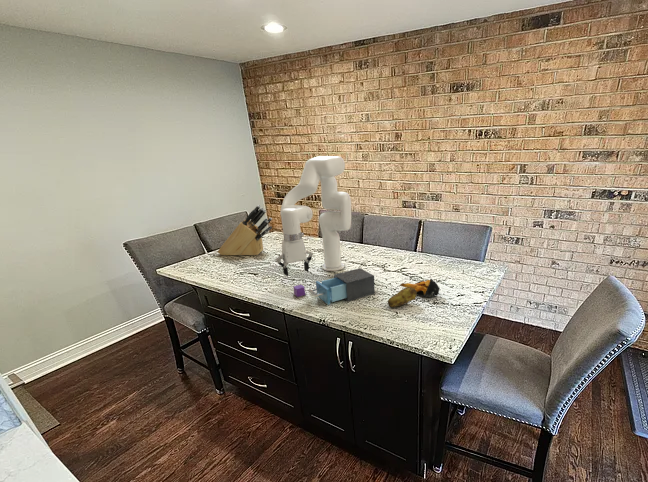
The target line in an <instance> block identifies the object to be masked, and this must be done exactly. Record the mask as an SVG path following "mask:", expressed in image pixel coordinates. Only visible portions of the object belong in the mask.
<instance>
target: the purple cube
mask: <svg viewBox="0 0 648 482" xmlns="http://www.w3.org/2000/svg"><path fill="white" fill-rule="evenodd" d="M292 288H293V293H294V294H293V295H294V296H296V297H297V298H298V297H303V296H306V289H305V286H304V285H302V284H298V285H294V286H292Z"/></svg>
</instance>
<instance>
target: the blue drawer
mask: <svg viewBox="0 0 648 482" xmlns="http://www.w3.org/2000/svg"><path fill="white" fill-rule="evenodd" d="M308 293H309V294H311V295H312V296H313V297H314V298H319V299H320V300H321V301H322V302H324V303H325V304H326V305H331V302H332V303H333V302H338V301H341V300H345V299H344V298H347V293H346V284H345V283H344V282H342V281H341V280H339V279H337V278H334V277H333V278H328V279H324V280H321V281H319V280H315V288H313V289H311V288H310V289H308Z"/></svg>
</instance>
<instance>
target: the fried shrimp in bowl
mask: <svg viewBox="0 0 648 482" xmlns="http://www.w3.org/2000/svg"><path fill="white" fill-rule="evenodd" d="M399 286H400V287H403V288H406V287H412V288H414V289H415V290H416V292H417V294H416V296H419V297H424V298H425V297H427V298H432V297H435V296H436V297H437V296H438V295H440V290H441V289H440V286H439V285H438V283H437V282H436V281H435V280H433V279H432V278H430V279H427V280H420V281H417V282H414V283H408V282H406V283H404V282H402V283H400V284H399Z"/></svg>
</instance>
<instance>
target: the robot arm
mask: <svg viewBox="0 0 648 482" xmlns="http://www.w3.org/2000/svg"><path fill="white" fill-rule="evenodd" d="M345 169H346V162H345V160H344V158H343V157H342V156H340V155H320V156H319V155H318V156H314V157H311V158H309V159H307V160H306V162H305V164H304V167H303V169H302V173H301V175H300V179H299V183H297V185H295V186H294V187H293V188H292V189H290V190H289V191H288V193H286V194H285V196H284V198H283V201H282V203H281V205H280V219H281V228H282V234H283V235H282V236H283V239H282V241H281V254H280V255H279V256H278V257H276V258H275V261H276V263H277V264H278V265H279V266H281V267H282V272H283V275H285V276H286V277H289V268H288V265H289V264H293V263H298V262H303V269H304V271H305V272H307V273H309V270H310V262H311V260H312V259H313V255H314V253H313V252H312V251H309V250H307V249H306V245H305V242H304V239H303V238H302V237H303V236H305V232H302V231H301V224H303V223H304V224H305V223H309V222H310V221H311V220H312V219H313V215H314V213H313V212H314V211H313V210H312V208H311V207H310V206H308V205H300V204H299V205H298V204H297V202H299V201H301V200H302V199H304V198H307V197H310V196H312V195H314V194H315V193H316V192H317V191H318V186H319V184H320V195H321V197H320V199H321V206H322V208H323V209H325V210H329V211H325V212H322V213H321V214H320V215H319V217H318V223H319V227H320V232H321V237H322V249H323V261H324V263H323V264H322V268H321V269H322V270H324V271H327V272H336V271H341V270H343V269H345V264H344V263H343V262H342V249H341V238H340V234H339V232H338V231H342V232H343V231H344V232H347V231H349V230H350V229H351V227H352V198H351V195H350V194H349V193H348V192H347V191H339V190H338V182H337V179H336V177H337V176H340V175H342V174H343V173H344V171H345ZM331 210H332V211H331ZM335 211H340V212H335ZM281 260H282V261H283V262H282V261H281Z"/></svg>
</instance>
